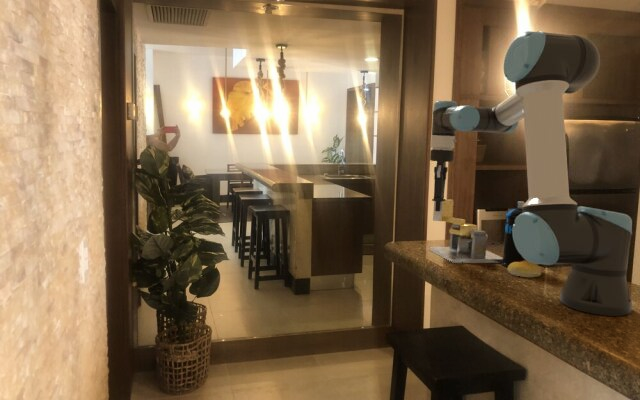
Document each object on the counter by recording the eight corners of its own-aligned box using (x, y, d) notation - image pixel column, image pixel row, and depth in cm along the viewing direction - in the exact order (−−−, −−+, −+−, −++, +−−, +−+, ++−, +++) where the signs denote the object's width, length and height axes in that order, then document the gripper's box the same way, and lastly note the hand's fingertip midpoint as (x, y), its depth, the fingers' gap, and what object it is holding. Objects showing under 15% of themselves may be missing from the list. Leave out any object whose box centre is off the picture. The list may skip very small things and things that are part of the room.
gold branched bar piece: (478, 241, 167) (481, 206, 166) (433, 231, 182) (435, 199, 180) (490, 239, 171) (493, 206, 169) (444, 229, 185) (446, 198, 184)
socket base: (505, 262, 168) (508, 232, 167) (452, 263, 164) (454, 232, 163) (478, 250, 185) (480, 223, 184) (429, 250, 182) (431, 222, 181)
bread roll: (501, 272, 156) (502, 259, 156) (524, 270, 160) (525, 257, 160) (522, 279, 149) (524, 265, 149) (546, 277, 153) (547, 263, 152)
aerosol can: (525, 263, 168) (531, 200, 165) (533, 270, 160) (539, 204, 157) (498, 262, 169) (504, 199, 166) (505, 268, 160) (510, 202, 158)
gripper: (452, 149, 166) (446, 224, 169) (455, 149, 178) (450, 219, 181) (428, 148, 169) (423, 222, 171) (433, 148, 181) (428, 217, 184)
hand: (437, 220), depth 176 cm, fingers closed
